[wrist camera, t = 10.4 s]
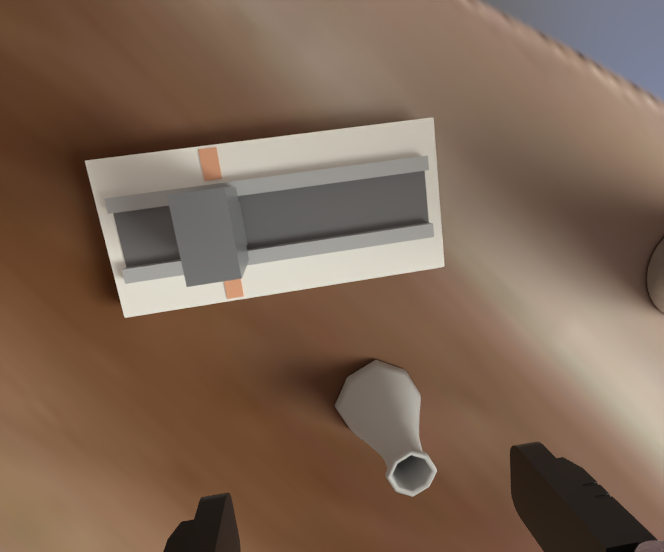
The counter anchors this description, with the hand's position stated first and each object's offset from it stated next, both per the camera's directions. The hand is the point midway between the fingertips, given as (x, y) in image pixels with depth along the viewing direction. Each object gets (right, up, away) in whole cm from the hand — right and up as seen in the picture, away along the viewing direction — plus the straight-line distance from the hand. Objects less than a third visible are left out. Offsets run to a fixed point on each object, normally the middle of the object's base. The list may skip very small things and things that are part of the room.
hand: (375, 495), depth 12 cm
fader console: (-5, +11, +21) cm, 24 cm away
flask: (+3, -5, +25) cm, 26 cm away
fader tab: (-9, +10, +18) cm, 22 cm away
